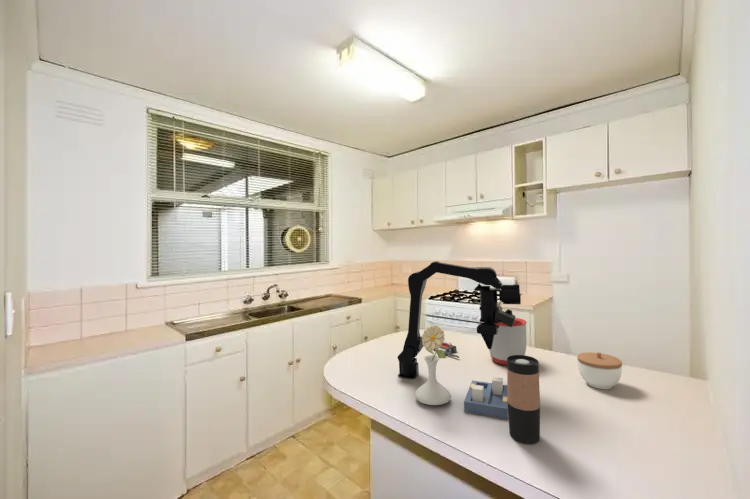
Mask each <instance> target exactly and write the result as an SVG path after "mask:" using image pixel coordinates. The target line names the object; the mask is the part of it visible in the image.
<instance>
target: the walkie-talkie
mask: <svg viewBox="0 0 750 499" xmlns="http://www.w3.org/2000/svg"><path fill="white" fill-rule="evenodd" d="M438 350H443V351H444V353H445V355H446V356H449V357H453V358H458V359H459V358H460V356H459V355H456V354H454V353H457V346H456V345H453V343H452V342H449V341H446V340H444V342H443V344H442V345H441V347H440V348H439V349H438ZM433 351H435V352H436V351H437V350H436V349H434V350H433Z"/></svg>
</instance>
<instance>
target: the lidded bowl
mask: <svg viewBox="0 0 750 499" xmlns="http://www.w3.org/2000/svg"><path fill="white" fill-rule="evenodd" d="M576 357H577V366H578V370H579V375H580V376H581V377H582V379H583V380H584V381H585V382H586V383H587V385H588V386H589V387H592V388H595V389H598V390H611V389H612V388H613V387H614V386H616V385H618V383H619V382H620V380H621V377H622V366H623V361H622V360H621V359H620V358H618V357H616V356H613V355H610V354H605V353H602V352H581V353H578V354H577V356H576Z"/></svg>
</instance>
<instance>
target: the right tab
mask: <svg viewBox="0 0 750 499" xmlns="http://www.w3.org/2000/svg"><path fill="white" fill-rule="evenodd" d="M503 379H504V378H503V377H497V376H492V379H491V383H492V394H496V395H503V385H504V380H503Z"/></svg>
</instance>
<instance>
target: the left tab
mask: <svg viewBox="0 0 750 499" xmlns="http://www.w3.org/2000/svg"><path fill="white" fill-rule="evenodd" d="M472 401H473V402H479V403H483V401H484V386H480V385H473V387H472Z"/></svg>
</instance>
